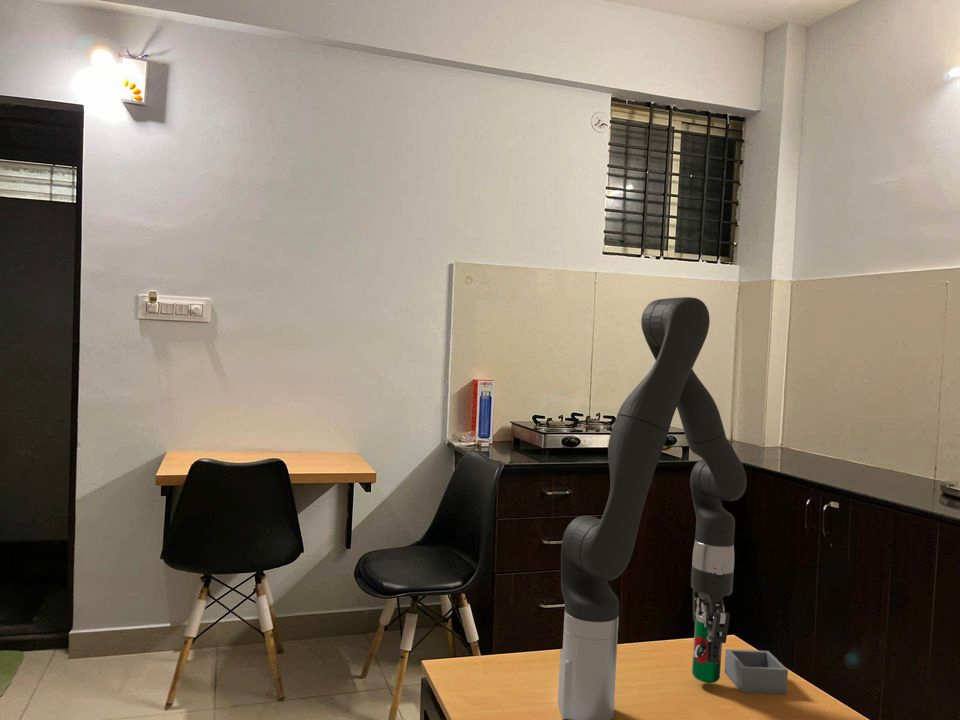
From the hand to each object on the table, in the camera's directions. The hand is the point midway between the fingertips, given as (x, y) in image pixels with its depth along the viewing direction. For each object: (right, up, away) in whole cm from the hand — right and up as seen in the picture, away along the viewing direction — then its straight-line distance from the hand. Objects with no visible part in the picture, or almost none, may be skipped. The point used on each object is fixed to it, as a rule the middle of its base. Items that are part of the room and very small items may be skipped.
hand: (707, 654), depth 137 cm
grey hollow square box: (+10, -6, +2) cm, 12 cm away
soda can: (0, -5, 0) cm, 5 cm away
